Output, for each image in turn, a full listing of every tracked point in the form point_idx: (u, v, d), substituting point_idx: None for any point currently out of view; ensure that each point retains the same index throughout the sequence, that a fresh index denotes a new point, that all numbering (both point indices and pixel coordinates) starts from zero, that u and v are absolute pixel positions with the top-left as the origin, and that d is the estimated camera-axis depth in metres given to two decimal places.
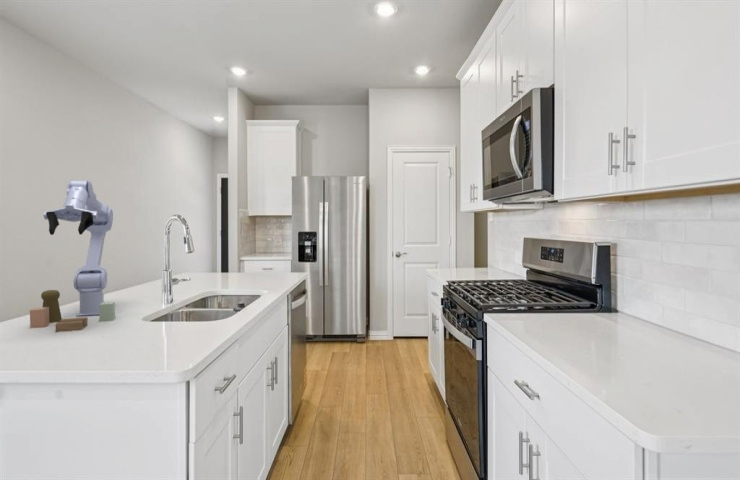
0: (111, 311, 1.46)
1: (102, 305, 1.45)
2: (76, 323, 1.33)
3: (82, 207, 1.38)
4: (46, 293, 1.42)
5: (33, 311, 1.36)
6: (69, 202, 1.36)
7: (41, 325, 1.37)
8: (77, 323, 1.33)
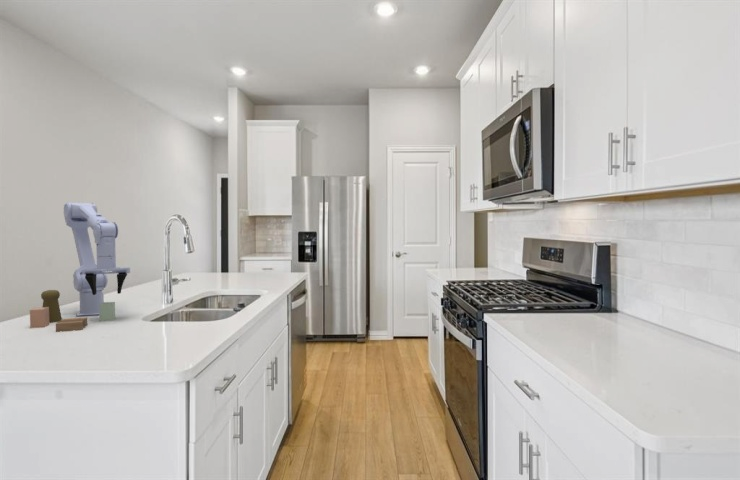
0: (111, 311, 1.46)
1: (102, 305, 1.45)
2: (76, 323, 1.33)
3: (114, 262, 1.47)
4: (46, 293, 1.42)
5: (33, 311, 1.36)
6: (102, 262, 1.44)
7: (41, 325, 1.37)
8: (77, 323, 1.33)
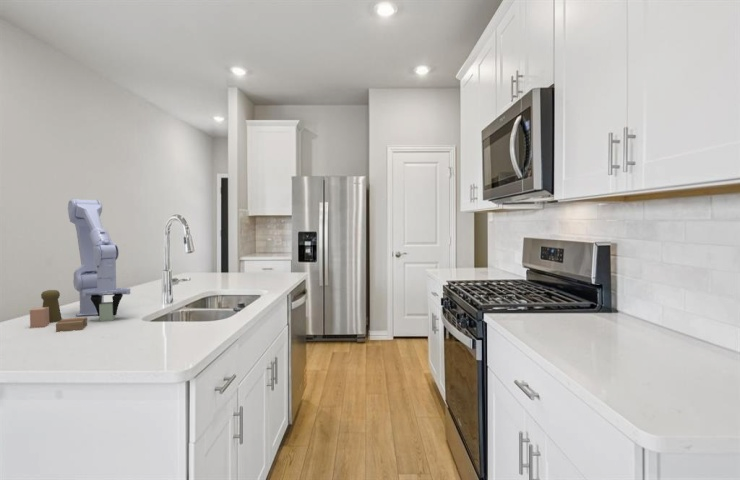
0: (111, 311, 1.46)
1: (102, 305, 1.45)
2: (77, 323, 1.33)
3: (114, 283, 1.47)
4: (46, 293, 1.42)
5: (33, 311, 1.36)
6: (102, 284, 1.44)
7: (41, 325, 1.37)
8: (78, 323, 1.33)
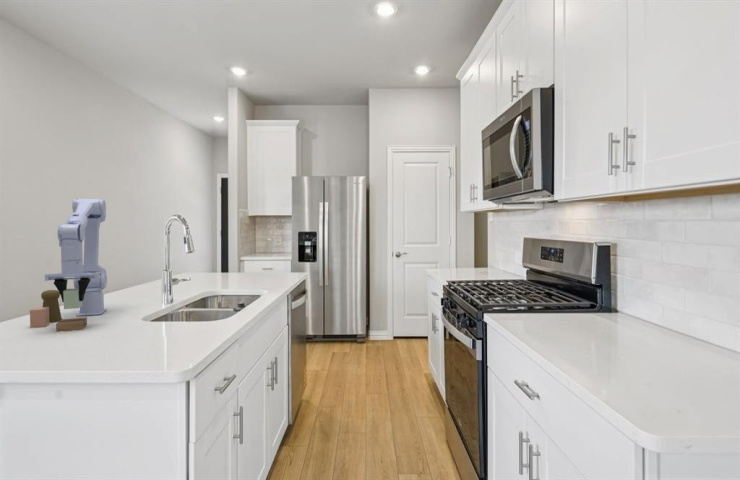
0: (77, 298, 1.34)
1: (66, 291, 1.33)
2: (77, 323, 1.33)
3: (81, 266, 1.35)
4: (46, 293, 1.42)
5: (33, 311, 1.36)
6: (67, 267, 1.32)
7: (41, 325, 1.37)
8: (78, 323, 1.33)
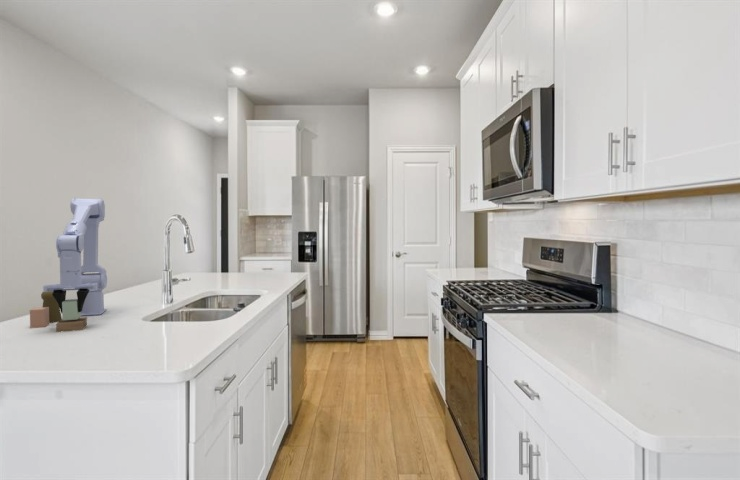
0: (75, 309, 1.34)
1: (65, 302, 1.33)
2: (77, 323, 1.33)
3: (79, 277, 1.35)
4: (46, 293, 1.42)
5: (33, 311, 1.36)
6: (65, 278, 1.32)
7: (41, 325, 1.37)
8: (78, 323, 1.33)
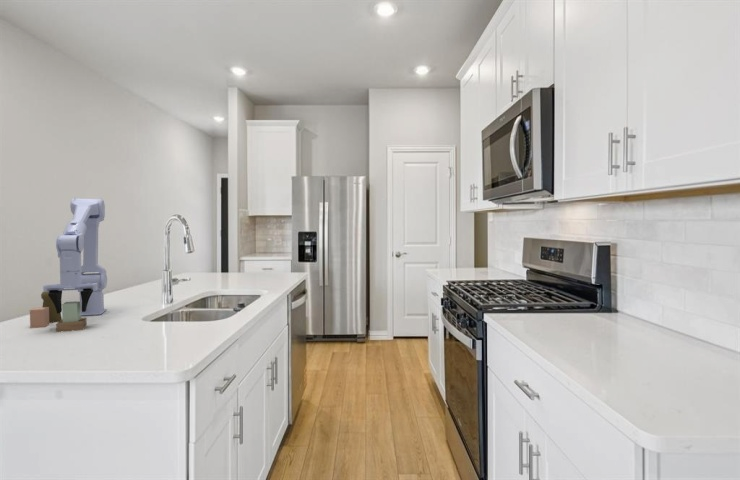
0: (75, 311, 1.34)
1: (65, 305, 1.33)
2: (77, 323, 1.33)
3: (79, 277, 1.35)
4: (46, 293, 1.42)
5: (33, 311, 1.36)
6: (65, 278, 1.32)
7: (41, 325, 1.37)
8: (78, 323, 1.33)
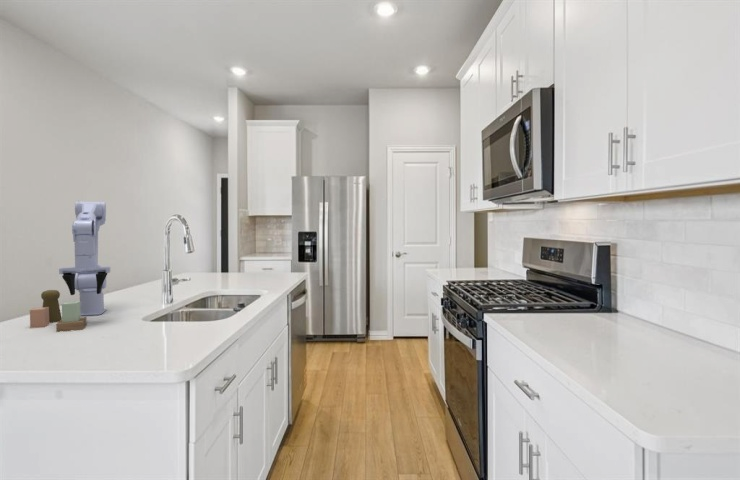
0: (75, 311, 1.34)
1: (65, 305, 1.33)
2: (77, 323, 1.33)
3: (93, 261, 1.41)
4: (46, 293, 1.42)
5: (33, 311, 1.36)
6: (80, 261, 1.38)
7: (41, 325, 1.37)
8: (78, 323, 1.33)
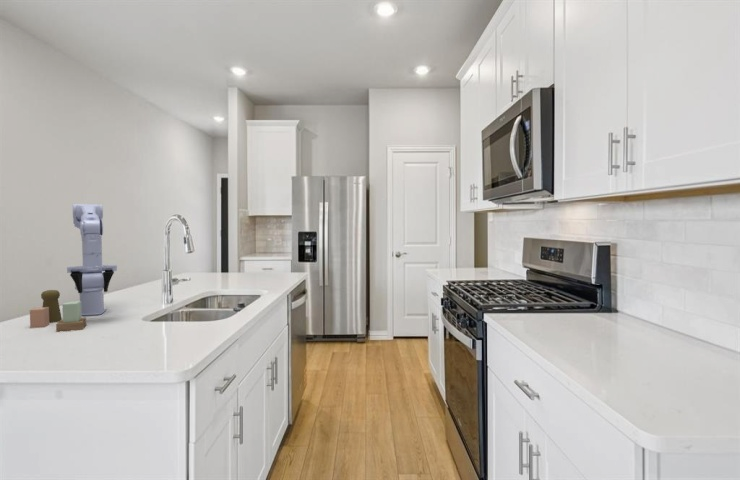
0: (76, 311, 1.34)
1: (66, 305, 1.33)
2: (77, 323, 1.33)
3: (100, 259, 1.45)
4: (46, 293, 1.42)
5: (33, 311, 1.36)
6: (88, 260, 1.41)
7: (41, 325, 1.37)
8: (78, 323, 1.33)
